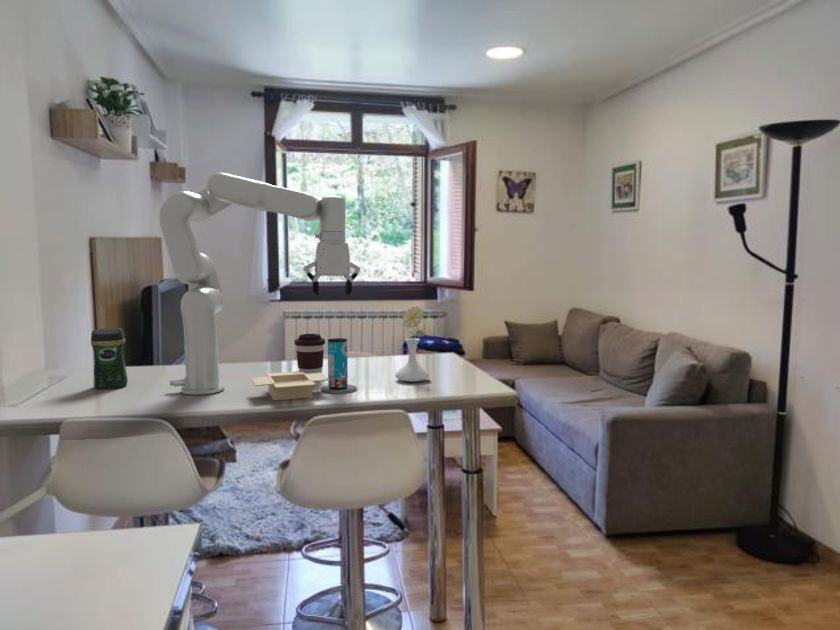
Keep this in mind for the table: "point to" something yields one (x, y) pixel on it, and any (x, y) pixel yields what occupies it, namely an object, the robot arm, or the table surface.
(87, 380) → the table surface
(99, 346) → the coffee jar
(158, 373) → the table surface
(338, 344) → the beverage can
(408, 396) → the table surface
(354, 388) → the coaster
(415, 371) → the flower in vase
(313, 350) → the coffee cup
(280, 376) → the carton
